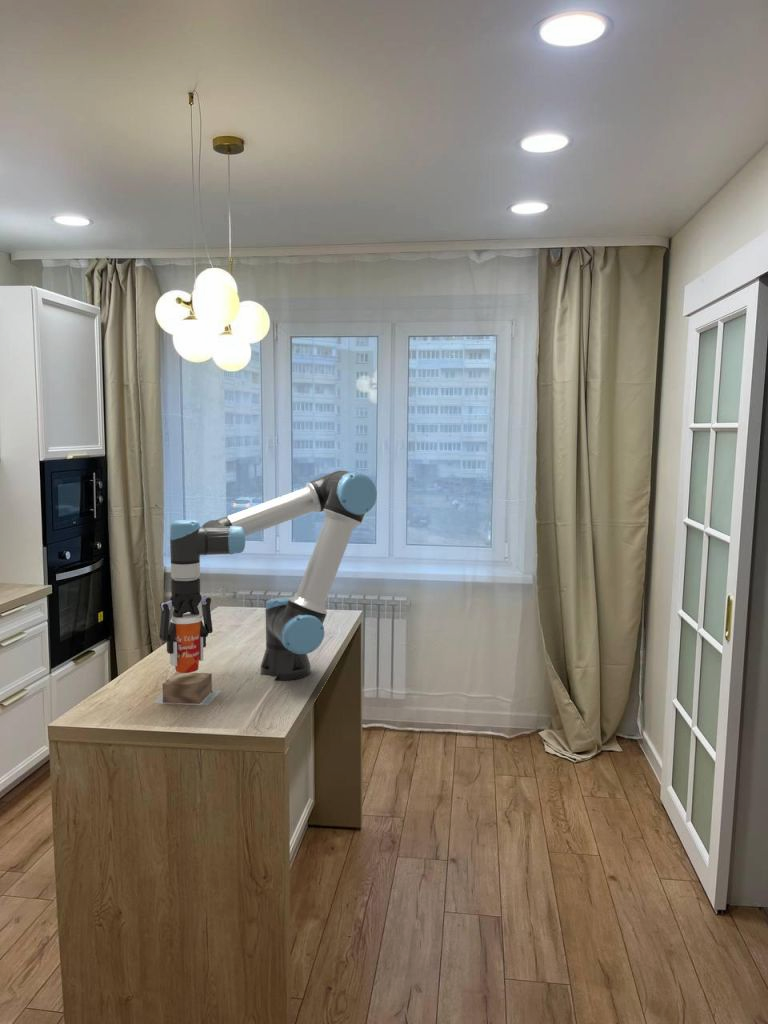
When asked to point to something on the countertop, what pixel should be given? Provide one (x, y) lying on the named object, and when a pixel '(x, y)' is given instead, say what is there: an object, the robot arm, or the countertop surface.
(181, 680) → the pedestal
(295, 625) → the robot arm
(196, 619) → the coffee cup
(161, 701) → the build plate
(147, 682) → the countertop surface
